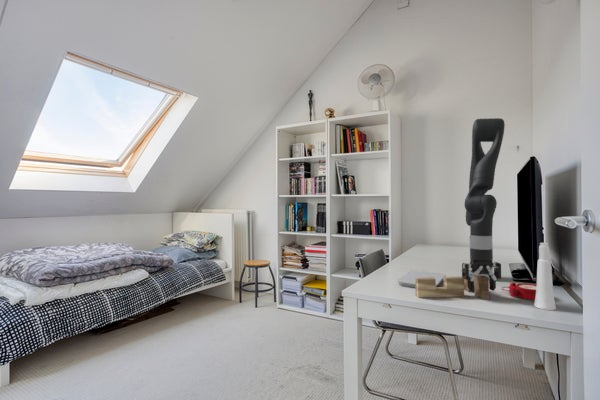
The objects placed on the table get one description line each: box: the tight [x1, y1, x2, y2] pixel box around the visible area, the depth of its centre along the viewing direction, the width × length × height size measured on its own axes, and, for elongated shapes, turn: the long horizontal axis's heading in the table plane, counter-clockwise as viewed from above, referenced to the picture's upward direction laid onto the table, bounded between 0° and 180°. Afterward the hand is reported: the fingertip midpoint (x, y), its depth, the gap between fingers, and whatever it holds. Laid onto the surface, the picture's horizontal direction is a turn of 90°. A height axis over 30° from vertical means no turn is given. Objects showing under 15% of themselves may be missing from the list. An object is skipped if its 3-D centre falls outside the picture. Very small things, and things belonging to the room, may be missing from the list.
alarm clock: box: [501, 282, 537, 301], centre depth 123 cm, size 10×6×15 cm
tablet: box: [396, 269, 447, 289], centre depth 146 cm, size 16×26×2 cm, turn 146°
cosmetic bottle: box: [533, 242, 557, 311], centre depth 110 cm, size 6×6×22 cm
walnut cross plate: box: [464, 269, 490, 300], centre depth 127 cm, size 14×2×8 cm, turn 2°
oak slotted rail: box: [415, 275, 465, 299], centre depth 125 cm, size 2×18×7 cm, turn 92°
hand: (481, 290), depth 122 cm, fingers open, 7 cm apart
